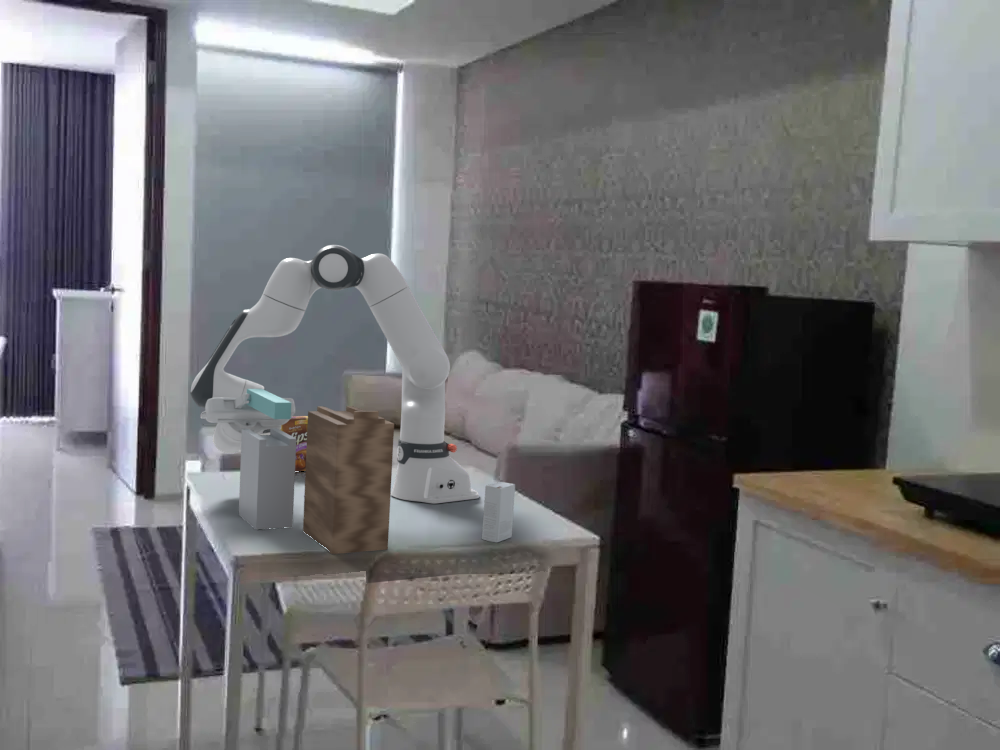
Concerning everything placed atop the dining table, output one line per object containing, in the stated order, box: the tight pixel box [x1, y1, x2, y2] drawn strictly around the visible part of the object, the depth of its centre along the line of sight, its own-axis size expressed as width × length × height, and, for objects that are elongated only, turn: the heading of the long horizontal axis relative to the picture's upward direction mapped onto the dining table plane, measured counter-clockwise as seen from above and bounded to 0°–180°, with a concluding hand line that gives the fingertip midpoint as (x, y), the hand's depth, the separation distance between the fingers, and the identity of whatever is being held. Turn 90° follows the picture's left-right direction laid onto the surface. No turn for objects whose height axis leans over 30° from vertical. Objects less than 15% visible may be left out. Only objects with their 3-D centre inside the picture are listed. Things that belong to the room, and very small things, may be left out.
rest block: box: [238, 428, 296, 530], centre depth 226 cm, size 8×14×20 cm, turn 29°
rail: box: [246, 389, 291, 419], centre depth 226 cm, size 4×22×4 cm, turn 29°
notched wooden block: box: [302, 405, 395, 555], centre depth 214 cm, size 12×18×28 cm, turn 29°
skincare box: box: [481, 481, 516, 543], centre depth 224 cm, size 6×4×12 cm
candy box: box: [281, 415, 308, 471], centre depth 282 cm, size 9×4×15 cm, turn 123°
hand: (258, 396), depth 232 cm, fingers closed on rail, 3 cm apart
